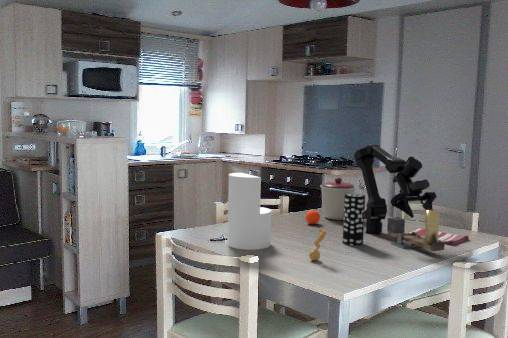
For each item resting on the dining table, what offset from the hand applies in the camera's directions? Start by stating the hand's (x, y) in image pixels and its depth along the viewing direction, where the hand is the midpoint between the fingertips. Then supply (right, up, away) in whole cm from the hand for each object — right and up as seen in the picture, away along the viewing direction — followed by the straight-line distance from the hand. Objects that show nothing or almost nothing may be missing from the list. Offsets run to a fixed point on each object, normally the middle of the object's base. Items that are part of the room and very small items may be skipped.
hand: (422, 216), depth 202 cm
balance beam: (-2, -10, +5) cm, 12 cm away
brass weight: (+2, -10, -4) cm, 11 cm away
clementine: (-38, -8, +47) cm, 61 cm away
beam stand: (-3, -13, +9) cm, 16 cm away
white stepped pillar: (-68, -12, +6) cm, 69 cm away
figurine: (-43, -15, -16) cm, 48 cm away
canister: (-24, -7, +63) cm, 67 cm away
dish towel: (+13, -12, +24) cm, 30 cm away
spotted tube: (-25, -12, +11) cm, 30 cm away
